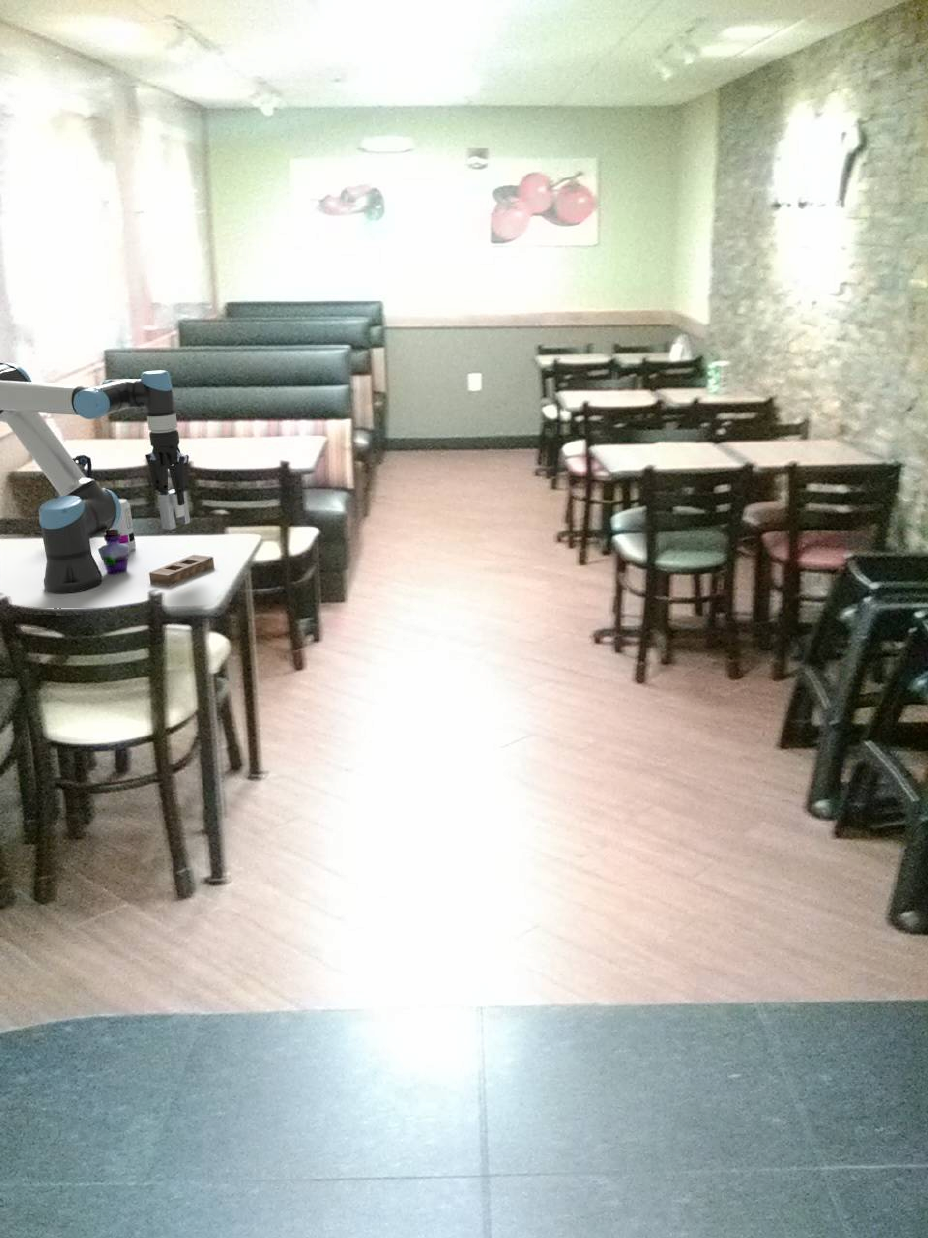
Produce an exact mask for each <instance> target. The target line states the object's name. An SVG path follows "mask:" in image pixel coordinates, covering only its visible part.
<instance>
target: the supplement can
mask: <svg viewBox="0 0 928 1238" xmlns="http://www.w3.org/2000/svg"><path fill="white" fill-rule="evenodd" d="M118 500H119V502H120V505H121V516H120V519H119V521H118V523H117V524H116V525H115V526H114V527H113V528H111V529H110V530H118V533H119V534H120V535H121V539H120V540H118V541H119V544H126V545H128V546H130V550H129V553H130V552H133V551H134V550H135V549H136V547H137V546H136V539H135V532H134V525H133V518H132V512H131V504H130V503H129V502H128V499H125V498H118ZM105 535H106V532H105V533H104V536H105ZM105 543H106V545H108V541H105Z"/></svg>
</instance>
